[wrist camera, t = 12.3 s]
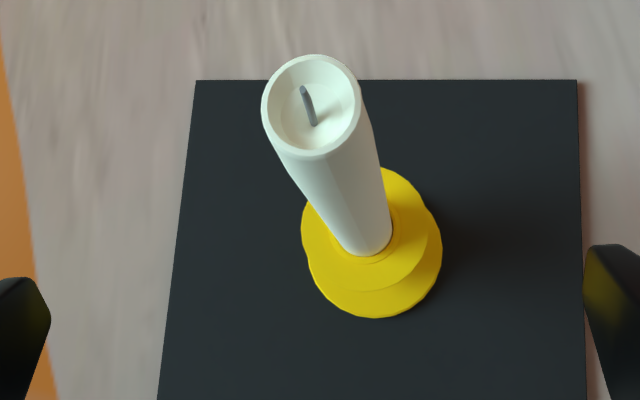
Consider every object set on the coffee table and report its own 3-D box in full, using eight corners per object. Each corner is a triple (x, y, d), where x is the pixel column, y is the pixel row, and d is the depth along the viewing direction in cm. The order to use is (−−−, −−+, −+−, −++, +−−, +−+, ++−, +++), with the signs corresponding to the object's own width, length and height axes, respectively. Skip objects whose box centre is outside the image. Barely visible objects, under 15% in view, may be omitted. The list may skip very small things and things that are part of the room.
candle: (400, 344, 21) (383, 379, 6) (284, 275, 23) (38, 167, 8) (466, 225, 22) (590, -5, 7) (349, 164, 23) (240, -140, 8)
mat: (585, 453, 20) (588, 455, 20) (159, 410, 22) (154, 411, 22) (574, 83, 23) (577, 79, 22) (198, 83, 25) (195, 79, 25)
